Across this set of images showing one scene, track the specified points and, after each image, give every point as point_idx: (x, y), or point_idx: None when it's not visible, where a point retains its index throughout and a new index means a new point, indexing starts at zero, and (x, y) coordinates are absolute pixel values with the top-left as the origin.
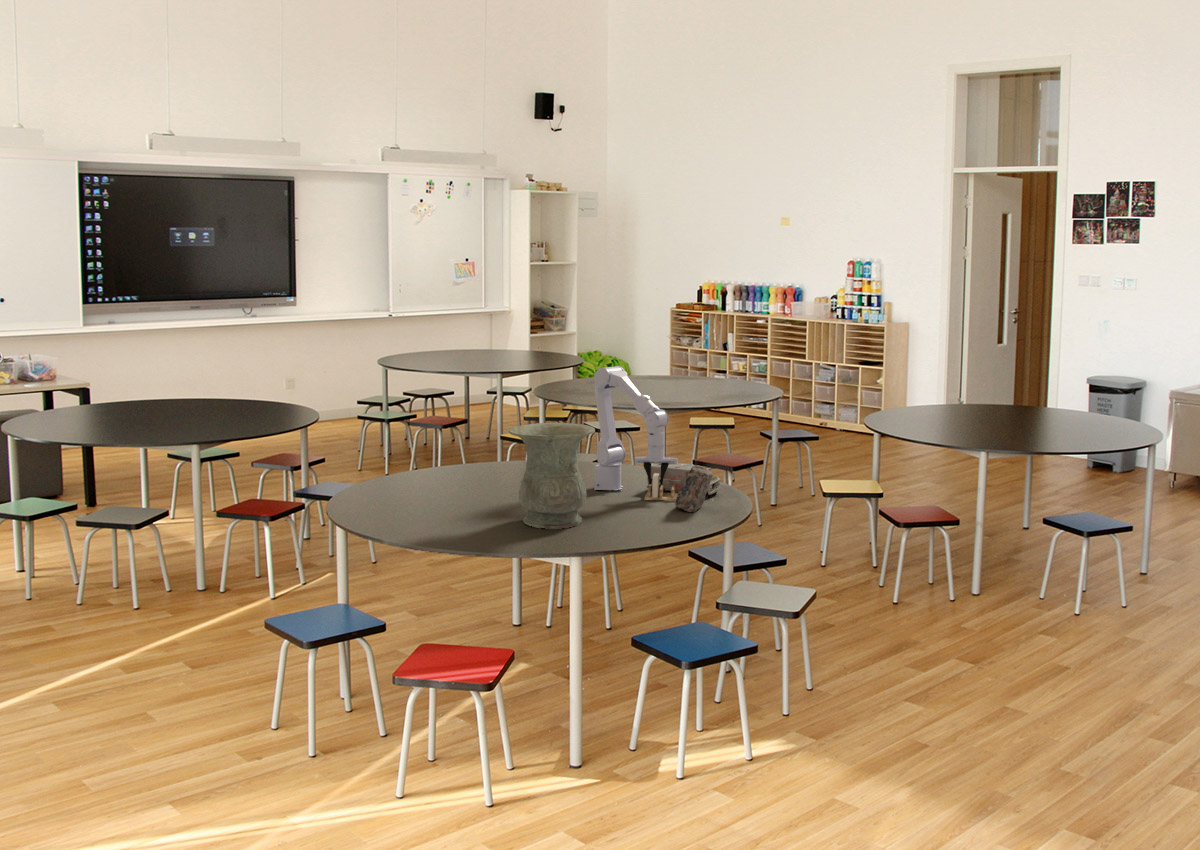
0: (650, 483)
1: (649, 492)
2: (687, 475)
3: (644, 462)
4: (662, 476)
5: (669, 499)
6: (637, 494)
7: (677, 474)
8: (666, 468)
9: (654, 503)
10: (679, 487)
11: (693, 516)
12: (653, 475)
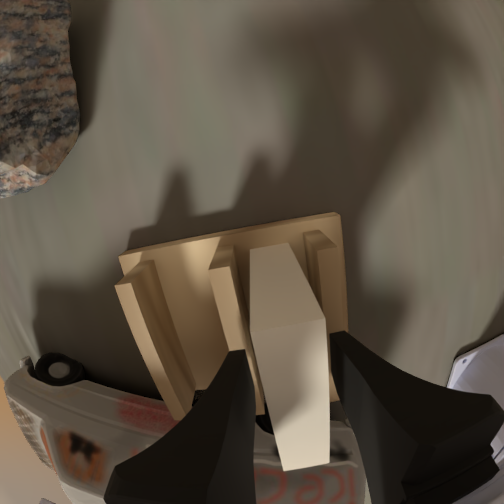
0: (336, 334)
1: (316, 240)
2: (94, 463)
3: (492, 475)
4: (213, 398)
5: (163, 245)
6: (390, 347)
7: None
8: (123, 462)
9: (246, 147)
10: (159, 416)
11: None
12: (328, 407)
